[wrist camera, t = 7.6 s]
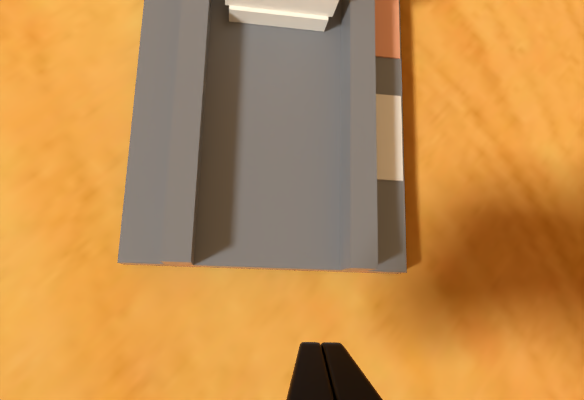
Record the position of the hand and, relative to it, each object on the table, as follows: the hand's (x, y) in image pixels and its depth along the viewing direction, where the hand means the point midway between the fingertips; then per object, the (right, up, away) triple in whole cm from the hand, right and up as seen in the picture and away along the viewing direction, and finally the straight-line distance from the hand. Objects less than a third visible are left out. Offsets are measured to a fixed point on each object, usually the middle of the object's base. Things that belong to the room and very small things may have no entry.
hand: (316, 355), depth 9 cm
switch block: (-2, +8, +14) cm, 16 cm away
